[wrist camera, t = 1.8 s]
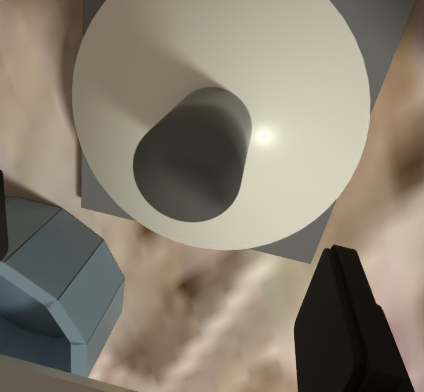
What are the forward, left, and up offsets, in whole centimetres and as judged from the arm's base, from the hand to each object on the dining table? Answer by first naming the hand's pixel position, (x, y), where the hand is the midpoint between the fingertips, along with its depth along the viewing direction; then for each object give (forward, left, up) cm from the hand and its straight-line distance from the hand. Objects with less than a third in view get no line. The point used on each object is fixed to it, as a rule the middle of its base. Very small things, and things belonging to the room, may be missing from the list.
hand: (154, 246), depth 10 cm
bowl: (+14, -11, -11) cm, 21 cm away
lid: (-1, 0, -11) cm, 11 cm away
